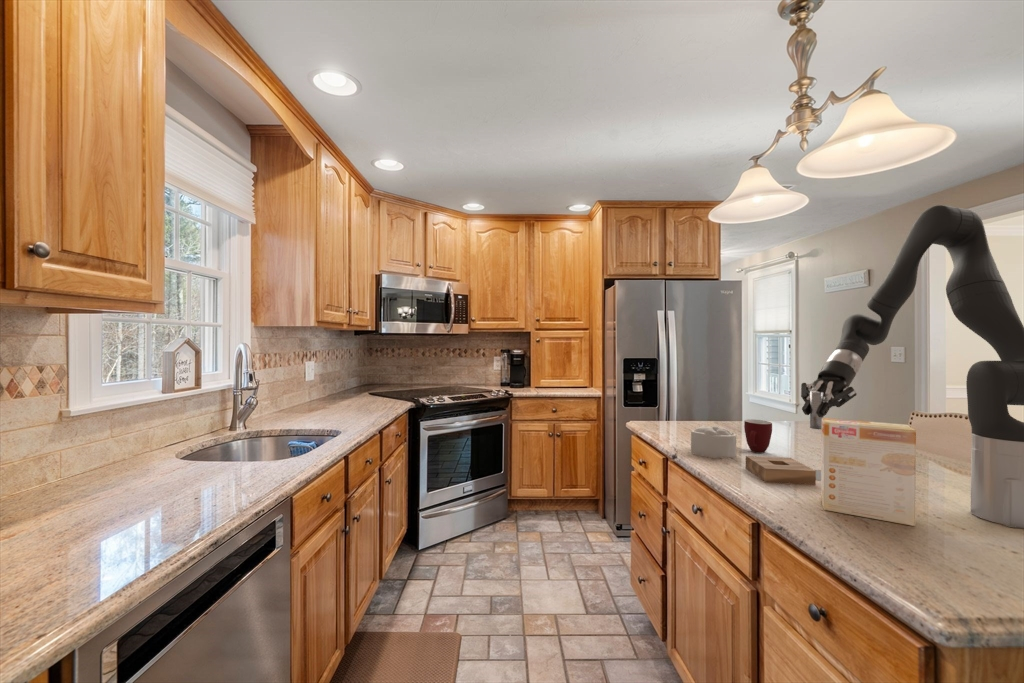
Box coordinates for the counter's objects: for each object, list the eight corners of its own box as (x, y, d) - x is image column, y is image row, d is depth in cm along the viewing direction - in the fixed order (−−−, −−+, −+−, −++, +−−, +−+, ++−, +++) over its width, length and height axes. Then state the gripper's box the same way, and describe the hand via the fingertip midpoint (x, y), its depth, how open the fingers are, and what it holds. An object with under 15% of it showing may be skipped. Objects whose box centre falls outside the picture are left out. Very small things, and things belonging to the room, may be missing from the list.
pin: (826, 429, 112) (826, 392, 112) (814, 429, 112) (814, 392, 112) (819, 427, 115) (819, 391, 115) (807, 427, 115) (807, 391, 115)
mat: (844, 483, 108) (844, 481, 108) (810, 481, 109) (810, 479, 109) (820, 471, 118) (820, 469, 118) (790, 469, 119) (790, 468, 119)
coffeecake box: (906, 515, 89) (907, 424, 89) (916, 527, 83) (917, 429, 82) (819, 500, 97) (820, 416, 97) (822, 510, 91) (824, 421, 90)
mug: (768, 457, 132) (769, 426, 132) (740, 453, 137) (740, 423, 137) (773, 451, 140) (773, 421, 140) (746, 447, 145) (746, 418, 145)
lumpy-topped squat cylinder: (697, 447, 144) (697, 422, 144) (739, 454, 135) (739, 428, 135) (688, 453, 136) (688, 427, 136) (732, 461, 127) (732, 433, 127)
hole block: (815, 486, 106) (815, 470, 106) (765, 483, 107) (765, 468, 107) (790, 471, 117) (790, 457, 117) (745, 469, 119) (745, 455, 119)
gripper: (808, 358, 123) (780, 401, 118) (863, 360, 110) (834, 408, 105) (819, 376, 125) (792, 418, 120) (875, 380, 112) (847, 428, 107)
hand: (812, 413), depth 113 cm, fingers closed on pin, 3 cm apart
